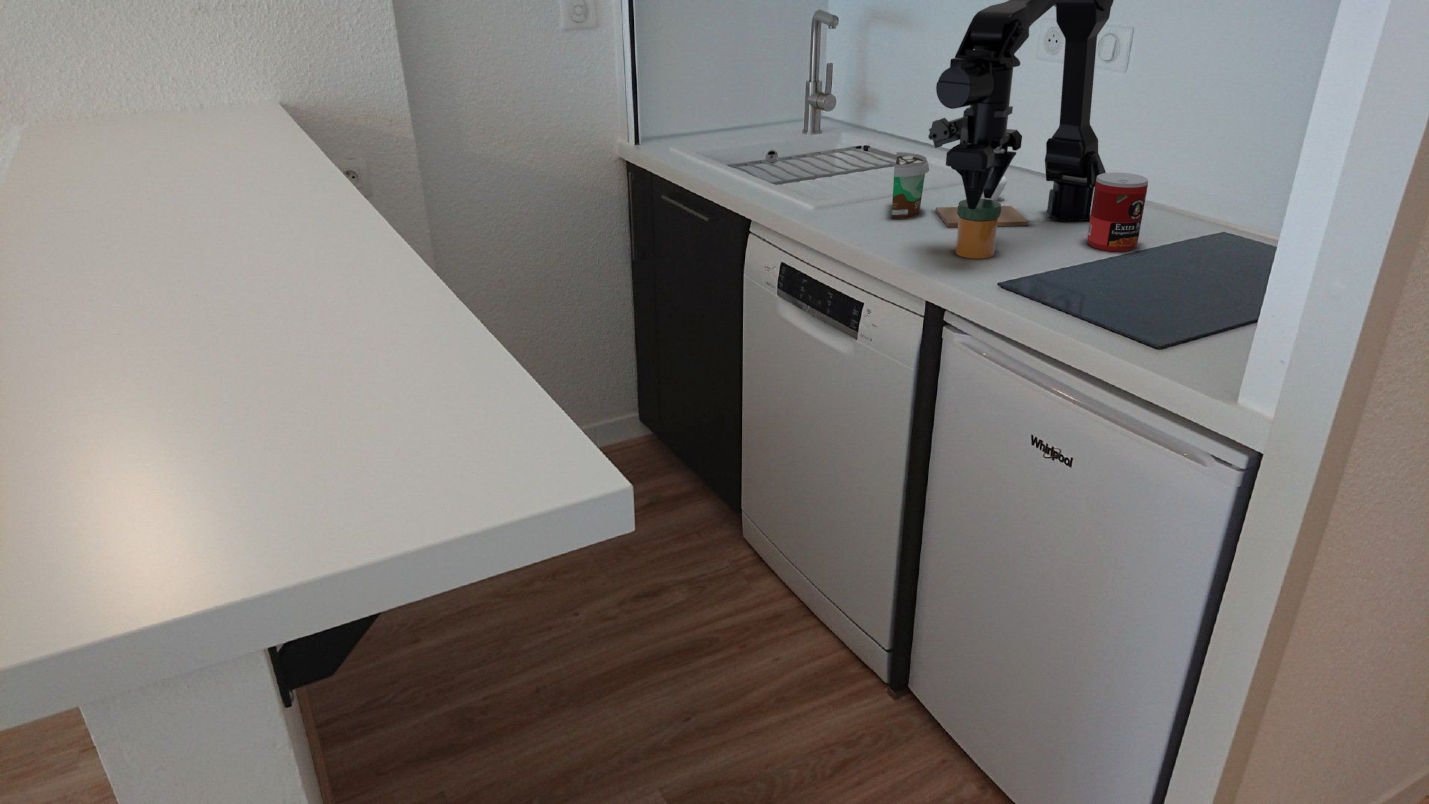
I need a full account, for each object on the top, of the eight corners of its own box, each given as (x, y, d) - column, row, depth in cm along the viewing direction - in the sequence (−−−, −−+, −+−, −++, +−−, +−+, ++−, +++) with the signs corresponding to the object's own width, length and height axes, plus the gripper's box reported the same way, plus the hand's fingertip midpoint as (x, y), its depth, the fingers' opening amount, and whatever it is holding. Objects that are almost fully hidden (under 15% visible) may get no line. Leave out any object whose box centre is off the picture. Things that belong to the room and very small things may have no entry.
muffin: (1011, 200, 183) (1015, 164, 180) (985, 204, 181) (989, 167, 178) (991, 194, 188) (995, 158, 185) (965, 197, 186) (969, 161, 183)
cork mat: (1010, 210, 177) (1011, 205, 177) (1027, 225, 167) (1028, 221, 167) (935, 211, 177) (935, 207, 177) (948, 227, 167) (948, 222, 167)
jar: (988, 247, 156) (993, 201, 153) (998, 258, 151) (1003, 211, 147) (952, 248, 156) (956, 202, 153) (960, 259, 151) (964, 211, 147)
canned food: (1111, 254, 151) (1123, 185, 146) (1075, 241, 158) (1085, 175, 153) (1148, 248, 154) (1160, 179, 149) (1111, 236, 160) (1122, 170, 156)
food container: (925, 222, 171) (930, 165, 167) (891, 220, 172) (894, 165, 168) (926, 205, 182) (930, 152, 177) (893, 204, 183) (896, 151, 179)
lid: (993, 209, 154) (995, 198, 153) (1004, 220, 148) (1006, 208, 147) (953, 210, 154) (954, 198, 153) (962, 221, 148) (963, 209, 147)
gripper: (958, 89, 154) (950, 185, 161) (916, 106, 140) (909, 210, 147) (1028, 93, 149) (1016, 192, 155) (991, 111, 135) (980, 219, 141)
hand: (979, 203), depth 150 cm, fingers open, 7 cm apart
